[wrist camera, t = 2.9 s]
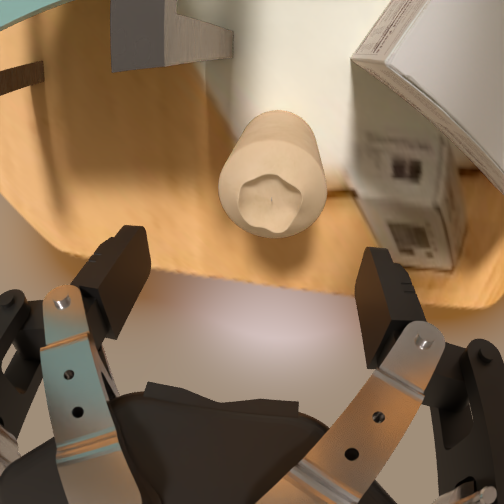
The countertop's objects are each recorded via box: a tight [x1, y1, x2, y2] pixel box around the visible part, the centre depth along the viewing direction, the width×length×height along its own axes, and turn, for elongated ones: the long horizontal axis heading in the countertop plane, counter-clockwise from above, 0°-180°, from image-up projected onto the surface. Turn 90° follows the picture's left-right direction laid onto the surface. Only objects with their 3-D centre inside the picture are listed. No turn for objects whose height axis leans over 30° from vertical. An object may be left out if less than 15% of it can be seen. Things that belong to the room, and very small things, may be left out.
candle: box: [218, 110, 327, 238], centre depth 19 cm, size 6×6×10 cm
